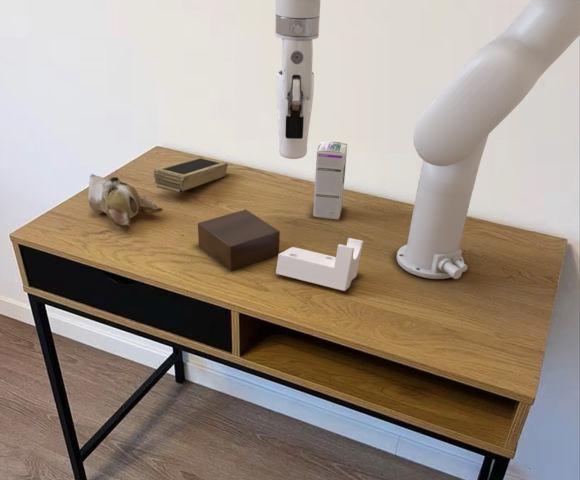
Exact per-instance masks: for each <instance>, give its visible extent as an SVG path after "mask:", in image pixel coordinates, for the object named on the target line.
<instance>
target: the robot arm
mask: <svg viewBox="0 0 580 480" xmlns="http://www.w3.org/2000/svg"><path fill="white" fill-rule="evenodd" d="M320 17H321V0H275V27H274V29H275V30H274V35H275V37H277V38H279V39H281V70H282V75H283V90H284V98H285V99H288V111H287V115H286V133H285V136H286V138H289V139H302V138H303V121H304V116H303V95H304V98H307V100H310V99H311V84H312V72H313V59H314V58H313V54H314V53H313V51H314V50H313V46H314V44H313V43H314V42H313V40H316V39H318V38H319V36H320ZM579 37H580V0H530V2H528V4H527V5H526V7H524V9H523V10H522V11H521V13H519V15H517V17H516V18H515V19H514V20H513V21H512V22H511V23H510V24H509V25H508V26H507V27H506V29H504V31H503V32H502V33H500V34H499V35H498V36H497V37H496V38H494V39H493V40H491V41H489V42H488V43H487V44H485V46H482V48H480V49H479V50H478V51H477V52H476V53H474V54H473V55H472V57H470V59H469V60H467V61H466V63H465V64H464V65H463V66H462V67H461V68H460V69H459V71H458V72H457V73H456V74H455V75H454V76H453V77H452V78H451V80H450V81H449V82H448V83H447V84H446V85H445V86H444V88H443V89H442V90H441V91H440V92H439V93H438V94H437V96H436V97H435V98H434V99H433V100H432V101H431V102H430V104H429V105H428V106H427V107H426V108H425V109H424V110H423V111H422V113H421V114H420V115H419V117H418V119H417V121H416V123H415V125H414V129H413V137H412V139H413V146H414V148H415V151H416V153H417V155H418V156H419V158H420V159H422V162H421V167H420V173H419V178H418V182H417V188H416V193H415V199H414V204H413V210H412V211H413V212H412V216H411V220H410V226H409V231H408V232H409V233H408V238H407V243H406V244H404V245H402V246H401V247H399V249H398V250H397V253H396V262H397V264H398V266H400V267H401V268H402V269H403V270H404V271H406V272H407V273H409V274H412V275H415V276H417V277H419V278H420V277H421V278H424V279H429V280H431V279H432V280H445V279H450V278H452V279H454V280H458V279H459V278H461V276H462V274H463V273H465V272H467V270H468V268H469V267H468V265H467V264H466V263H465V259H464V258H463V256H462V254H463V250H462V249H461V248H460V246H461V241H462V237H463V233H464V229H465V226H466V225H465V224H466V221H467V216H468V212H469V209H470V204H471V200H472V196H473V191H474V189H475V188H474V187H475V184H476V180H477V176H478V173H479V172H478V171H479V168H480V164H481V161H482V158H483V154H484V151H485V148H486V146H487V145H486V144H487V141H488V138H489V134H491V133H492V132H493V130H495V129H496V128H497V127H498V126H499V125H501V123H502V122H503V121H504V120H505V119H506V118H507V117H508V116H509V115H510V114H511V113H512V112H513V111H514V110H515V109H516V108H517V107H518V105H520V104H521V102H522V101H523V100H524V99H525V98H526V97H527V95H528V94H529V93H530V92H531V90H532V89H533V88H534V87H535V85H536V84H537V82H538V81H539V79H540V78H541V77H542V76H543V74H544V73H545V72H546V71H547V70H548V69H549V68H550V67H551V66H552V65H553V64H554V63H555V62H556V61H557V60H558V59H559V58H560V57H561V56H562V55H563V54H564V53H565V52H566V51H567V49H568V48H569V47H570V46H571V45H572V44H573V43H574V42H576V40H577V39H578V38H579ZM292 76H293V85H292ZM292 86H293V98H290V93H291V92H292ZM301 89H302V92H301ZM300 93H301V98H300ZM291 102H292V104H291ZM290 109H291V112H290Z"/></svg>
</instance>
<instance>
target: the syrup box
mask: <svg viewBox="0 0 580 480" xmlns="http://www.w3.org/2000/svg"><path fill="white" fill-rule="evenodd" d="M347 153H348V143H344V142H338V141H323V140H321V141H320V143H319V145H318V147H317V150H316V161H315V174H314V193H313V209H312V216H313V217H315V218H320V219H328V220H339V219H340V217H341V214H342V209H343V202H344V201H343V200H344V190H345V178H346V165H347V155H348V154H347Z"/></svg>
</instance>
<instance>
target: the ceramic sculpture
mask: <svg viewBox="0 0 580 480" xmlns="http://www.w3.org/2000/svg"><path fill="white" fill-rule="evenodd" d="M89 175H90V176H89V180H88V181H89V182H88V192H87V194H88V195H87V201H88V204H89V207H90V209H91V210H93V212H95V213H101V212H103V213H105V214H106V216H107V217H108V219H109V220H110V221H111V223H113V224H114V225H115V226H117V227H120V228H130V227H131V221H132V220H131V219H132V218H134V217H135V216H136V215H137V214H138V212H139V213H141V214H144V215H153V214H158V213H161V212H163V210H164V209H163V208H161V207H158V206H157V205H156V204H155V203H153V200H151V199H150V198H147V197H146V196H145V195H139V193H138V191H137V189H136V188H135V187H134V186H132V185H130V184H129V183H126V182H122V181H121V179H120V178H118V177H117V176H112V177H110V178H105V177H103V176H99V175H96V174H93V173H91V174H89Z"/></svg>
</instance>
